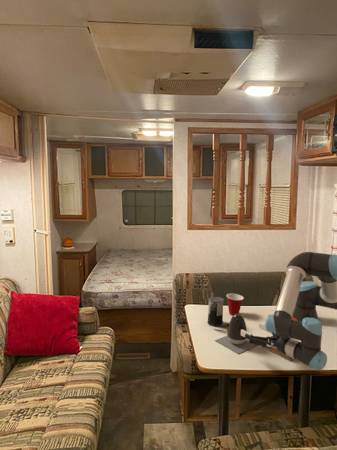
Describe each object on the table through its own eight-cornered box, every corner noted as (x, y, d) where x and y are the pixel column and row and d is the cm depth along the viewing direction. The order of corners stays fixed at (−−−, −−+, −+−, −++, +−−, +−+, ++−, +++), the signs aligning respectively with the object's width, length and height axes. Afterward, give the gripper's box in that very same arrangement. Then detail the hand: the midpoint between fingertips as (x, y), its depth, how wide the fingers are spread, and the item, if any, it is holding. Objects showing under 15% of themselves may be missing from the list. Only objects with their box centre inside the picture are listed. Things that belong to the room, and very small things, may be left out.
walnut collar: (280, 338, 169) (280, 333, 169) (308, 351, 156) (308, 346, 156) (261, 346, 160) (261, 342, 159) (289, 361, 147) (290, 356, 146)
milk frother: (206, 319, 192) (207, 296, 190) (233, 320, 191) (234, 296, 189) (208, 330, 177) (209, 304, 176) (236, 331, 177) (237, 305, 175)
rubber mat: (235, 332, 175) (235, 332, 174) (259, 344, 162) (259, 344, 162) (214, 340, 165) (214, 340, 165) (238, 354, 152) (238, 353, 152)
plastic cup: (243, 318, 194) (244, 299, 192) (225, 316, 196) (226, 298, 194) (242, 311, 204) (243, 293, 203) (225, 310, 206) (226, 292, 205)
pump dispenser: (225, 345, 160) (226, 316, 158) (228, 336, 170) (229, 309, 168) (245, 349, 156) (246, 319, 155) (248, 339, 166) (249, 312, 164)
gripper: (271, 363, 131) (232, 342, 148) (304, 346, 146) (266, 329, 163) (272, 346, 130) (233, 327, 147) (305, 331, 145) (266, 315, 162)
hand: (250, 328), depth 155 cm, fingers open, 13 cm apart
